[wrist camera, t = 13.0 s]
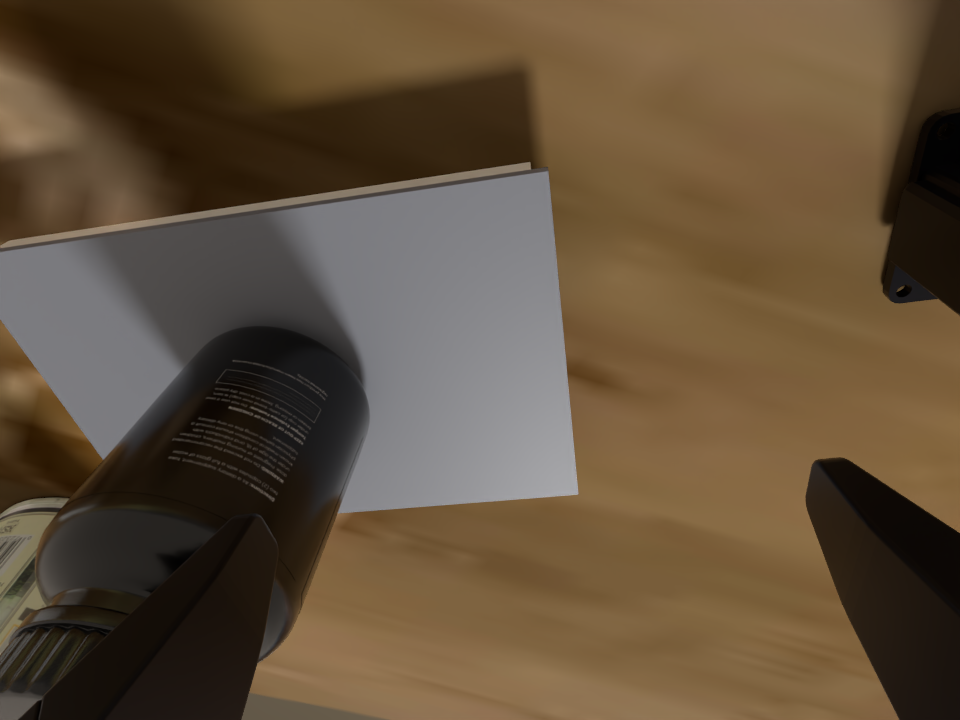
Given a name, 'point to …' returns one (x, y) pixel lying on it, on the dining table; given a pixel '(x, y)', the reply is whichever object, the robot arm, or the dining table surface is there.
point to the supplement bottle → (196, 496)
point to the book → (332, 322)
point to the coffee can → (21, 560)
